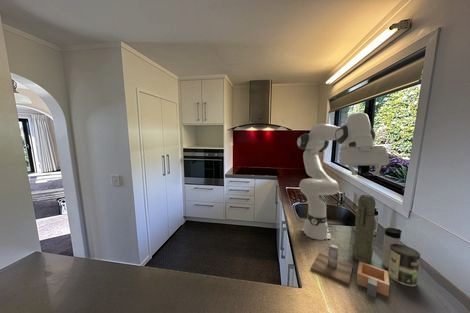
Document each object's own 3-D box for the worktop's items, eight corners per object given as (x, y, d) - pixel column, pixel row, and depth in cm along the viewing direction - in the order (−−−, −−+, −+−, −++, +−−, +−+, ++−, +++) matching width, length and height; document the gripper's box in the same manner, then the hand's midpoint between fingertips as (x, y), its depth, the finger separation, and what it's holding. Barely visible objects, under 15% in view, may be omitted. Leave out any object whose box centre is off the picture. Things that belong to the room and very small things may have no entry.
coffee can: (420, 282, 85) (424, 252, 84) (411, 289, 80) (414, 258, 79) (393, 268, 94) (396, 241, 93) (383, 274, 89) (386, 246, 88)
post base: (318, 255, 103) (320, 235, 102) (352, 268, 93) (354, 246, 93) (310, 270, 91) (312, 247, 90) (348, 286, 81) (350, 261, 80)
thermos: (349, 259, 101) (355, 196, 98) (354, 250, 109) (359, 192, 107) (369, 267, 95) (375, 200, 92) (373, 257, 103) (379, 195, 100)
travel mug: (401, 272, 92) (405, 232, 90) (386, 269, 93) (389, 231, 92) (393, 264, 98) (397, 227, 96) (379, 262, 99) (382, 225, 98)
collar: (358, 270, 91) (359, 261, 91) (387, 281, 85) (388, 271, 84) (355, 288, 80) (356, 277, 79) (388, 303, 73) (389, 291, 73)
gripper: (380, 147, 88) (385, 176, 85) (336, 147, 90) (339, 175, 87) (390, 143, 82) (395, 174, 79) (342, 143, 84) (345, 173, 81)
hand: (365, 175), depth 83 cm, fingers open, 8 cm apart
